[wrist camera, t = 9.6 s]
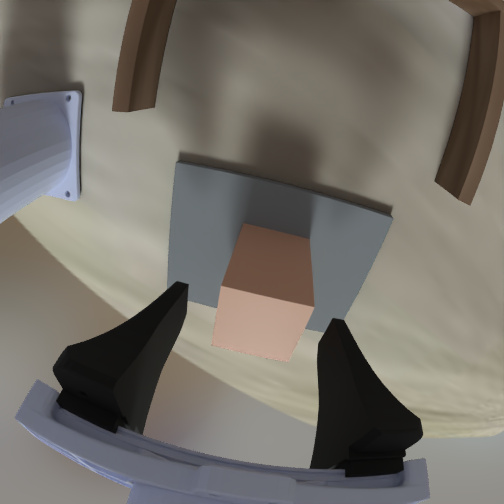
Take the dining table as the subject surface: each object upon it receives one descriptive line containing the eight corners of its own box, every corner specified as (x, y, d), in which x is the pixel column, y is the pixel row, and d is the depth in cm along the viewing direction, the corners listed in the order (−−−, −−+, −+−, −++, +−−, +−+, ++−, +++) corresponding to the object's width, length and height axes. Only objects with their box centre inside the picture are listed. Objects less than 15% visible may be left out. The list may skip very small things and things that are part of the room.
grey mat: (169, 290, 21) (167, 294, 21) (179, 160, 16) (176, 162, 15) (334, 329, 21) (334, 334, 21) (391, 214, 16) (393, 218, 15)
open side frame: (139, 106, 14) (111, 111, 12) (185, -71, 7) (168, -91, 5) (446, 186, 14) (470, 205, 12) (486, 14, 7) (512, 8, 5)
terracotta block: (232, 276, 19) (211, 345, 14) (243, 223, 17) (220, 285, 12) (291, 290, 19) (288, 362, 14) (309, 238, 17) (314, 307, 12)
